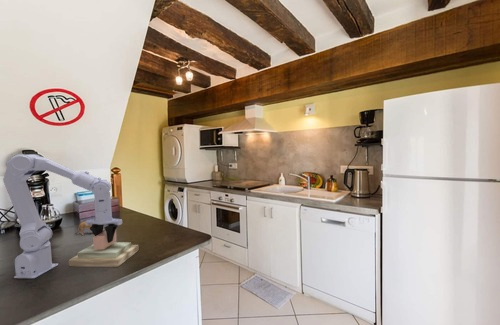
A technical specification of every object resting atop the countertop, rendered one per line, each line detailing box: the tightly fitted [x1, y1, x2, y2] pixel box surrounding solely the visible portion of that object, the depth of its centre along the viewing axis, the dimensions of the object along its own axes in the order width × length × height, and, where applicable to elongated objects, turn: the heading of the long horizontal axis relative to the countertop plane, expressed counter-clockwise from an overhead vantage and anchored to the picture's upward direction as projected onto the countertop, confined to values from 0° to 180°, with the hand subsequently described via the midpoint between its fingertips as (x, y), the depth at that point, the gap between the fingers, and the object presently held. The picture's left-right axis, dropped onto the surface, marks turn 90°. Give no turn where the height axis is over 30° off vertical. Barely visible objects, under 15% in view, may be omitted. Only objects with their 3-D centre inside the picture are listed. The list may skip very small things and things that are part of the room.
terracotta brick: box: [92, 229, 118, 249], centre depth 92 cm, size 8×4×5 cm, turn 177°
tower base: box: [68, 241, 140, 268], centre depth 92 cm, size 14×20×4 cm
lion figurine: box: [74, 221, 92, 236], centre depth 120 cm, size 15×5×9 cm, turn 106°
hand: (105, 241), depth 91 cm, fingers closed on terracotta brick, 4 cm apart
